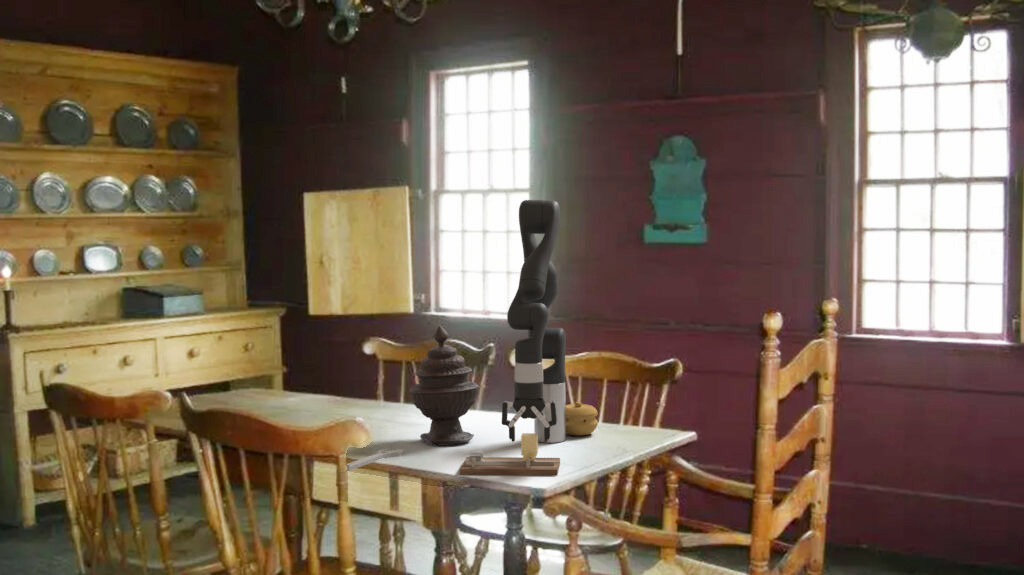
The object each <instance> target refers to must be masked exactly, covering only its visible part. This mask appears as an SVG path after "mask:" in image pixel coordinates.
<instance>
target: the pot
mask: <svg viewBox="0 0 1024 575" xmlns="http://www.w3.org/2000/svg"><path fill="white" fill-rule="evenodd" d="M597 416H598V410H597V409H596V407H594V406H593V405H590V404H585V403H582V402H580V401H576V402H575V403H571V404H566V435H570V436H575V437H576V436H577V437H579V436H587V435H590V434H592V433H593V432H594V431H596V429H597V426H598V423H599V422H598V419H597V418H596V417H597Z"/></svg>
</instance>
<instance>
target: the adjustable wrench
mask: <svg viewBox="0 0 1024 575" xmlns="http://www.w3.org/2000/svg"><path fill="white" fill-rule="evenodd" d="M403 454H404V449H403V448H400V447H399V448H398V449H395V450H394V449H393V450H390V447H389V448H382V449H379V450H376V452H375V454H372V455H370V456H366V457H363V458H359V459H357V460H355V461H352V462H349V463H348V462H347V463H346V464H347V471H346V472H349V471H352V470H355V469H357V468H359V467H360V468H361V467H364V466H366V465H369V464H372V463H375V462H378V461H380V460H379V459H381V460H383V459H382V458H384V459H388V457H389V458H395V457H400V455H401V456H403ZM377 460H378V461H377Z"/></svg>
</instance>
